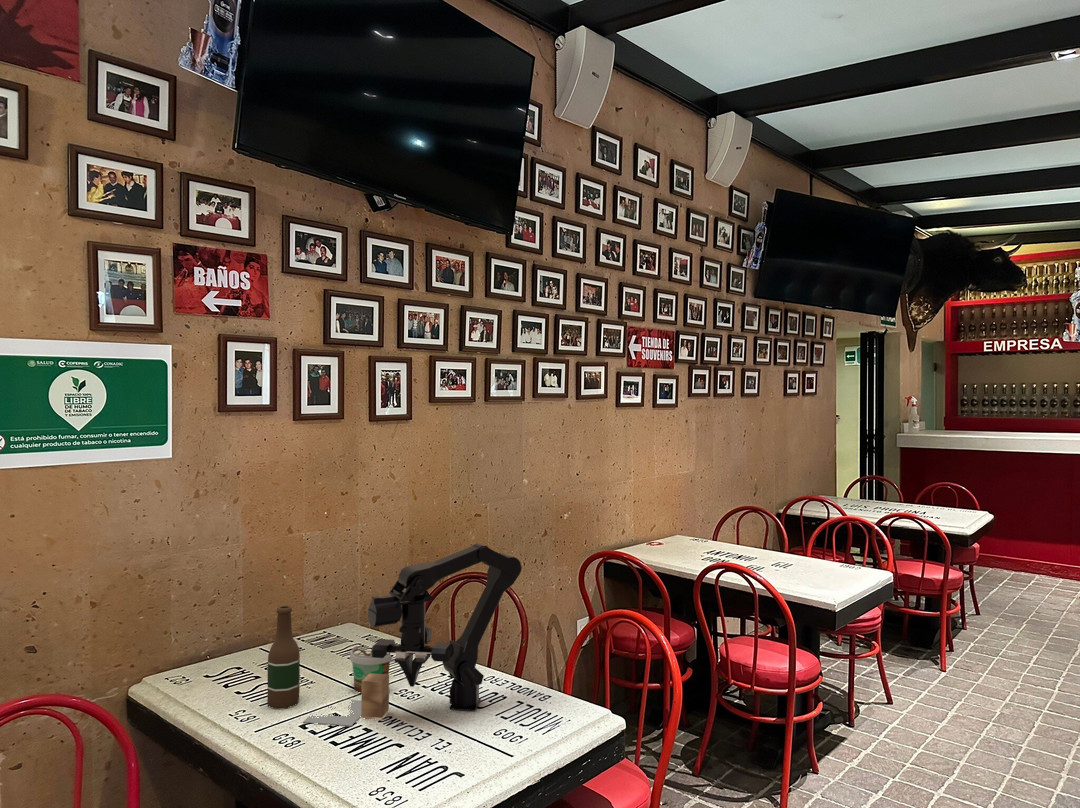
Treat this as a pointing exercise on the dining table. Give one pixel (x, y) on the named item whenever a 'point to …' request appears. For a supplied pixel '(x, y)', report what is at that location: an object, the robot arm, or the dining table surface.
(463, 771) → the dining table surface
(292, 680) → the beer bottle
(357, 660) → the food container
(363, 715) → the block
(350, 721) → the mat
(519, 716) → the dining table surface
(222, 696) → the dining table surface
